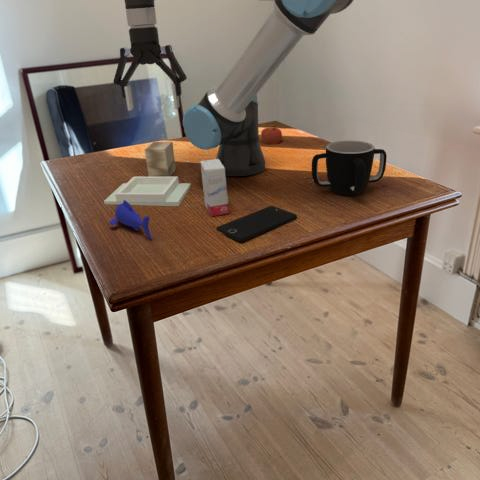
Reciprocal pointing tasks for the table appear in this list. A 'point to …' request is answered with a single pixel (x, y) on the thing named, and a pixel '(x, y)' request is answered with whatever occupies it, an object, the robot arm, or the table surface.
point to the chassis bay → (150, 191)
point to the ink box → (214, 187)
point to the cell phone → (256, 223)
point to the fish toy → (130, 218)
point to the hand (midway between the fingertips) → (153, 109)
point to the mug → (349, 166)
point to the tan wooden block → (160, 159)
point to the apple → (271, 135)
